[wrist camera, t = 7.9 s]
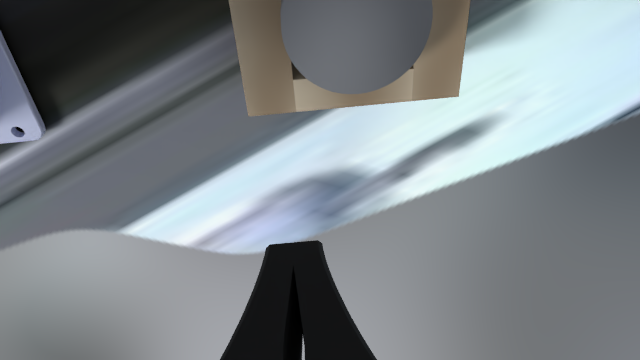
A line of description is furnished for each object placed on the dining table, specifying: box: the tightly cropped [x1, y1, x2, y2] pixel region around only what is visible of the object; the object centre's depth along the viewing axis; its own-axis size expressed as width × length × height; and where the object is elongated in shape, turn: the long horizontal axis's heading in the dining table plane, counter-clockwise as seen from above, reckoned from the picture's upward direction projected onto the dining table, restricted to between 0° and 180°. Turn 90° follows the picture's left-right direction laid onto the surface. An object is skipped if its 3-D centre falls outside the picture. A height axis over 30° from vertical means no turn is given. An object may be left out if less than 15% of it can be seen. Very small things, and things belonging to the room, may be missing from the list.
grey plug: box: [280, 0, 433, 94], centre depth 17 cm, size 5×5×4 cm
